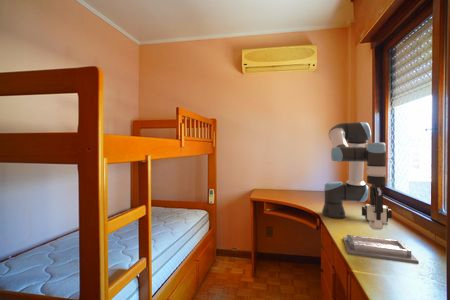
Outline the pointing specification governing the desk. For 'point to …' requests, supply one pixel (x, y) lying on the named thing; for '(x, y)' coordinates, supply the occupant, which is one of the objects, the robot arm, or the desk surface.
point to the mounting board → (379, 254)
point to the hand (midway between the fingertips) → (376, 224)
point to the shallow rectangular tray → (378, 245)
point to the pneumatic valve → (369, 214)
